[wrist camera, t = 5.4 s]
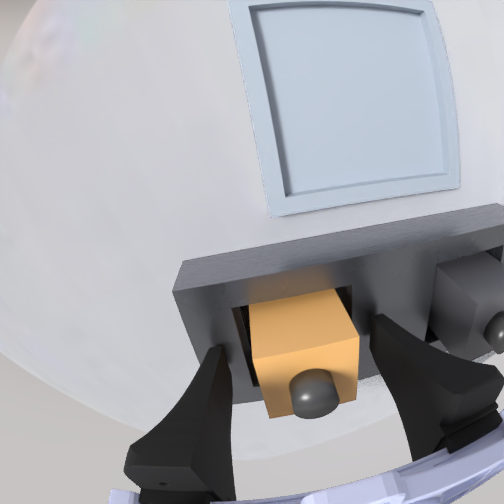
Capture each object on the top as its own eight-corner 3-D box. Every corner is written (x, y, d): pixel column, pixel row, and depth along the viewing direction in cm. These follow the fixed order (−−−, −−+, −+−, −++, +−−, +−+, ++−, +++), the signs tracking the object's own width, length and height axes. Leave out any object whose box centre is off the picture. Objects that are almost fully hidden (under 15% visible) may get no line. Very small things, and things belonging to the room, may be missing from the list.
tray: (422, 5, 10) (432, 1, 9) (449, 183, 14) (459, 187, 13) (227, 2, 10) (226, -5, 9) (268, 211, 14) (270, 217, 14)
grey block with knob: (465, 238, 16) (541, 293, 9) (458, 291, 17) (518, 354, 11) (417, 249, 16) (493, 318, 9) (412, 305, 17) (469, 381, 11)
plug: (321, 265, 16) (370, 357, 9) (326, 323, 17) (363, 419, 11) (247, 280, 16) (254, 383, 9) (260, 337, 18) (271, 439, 11)
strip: (497, 203, 15) (527, 218, 12) (481, 303, 18) (502, 325, 15) (182, 261, 15) (171, 291, 13) (219, 370, 19) (218, 406, 16)
